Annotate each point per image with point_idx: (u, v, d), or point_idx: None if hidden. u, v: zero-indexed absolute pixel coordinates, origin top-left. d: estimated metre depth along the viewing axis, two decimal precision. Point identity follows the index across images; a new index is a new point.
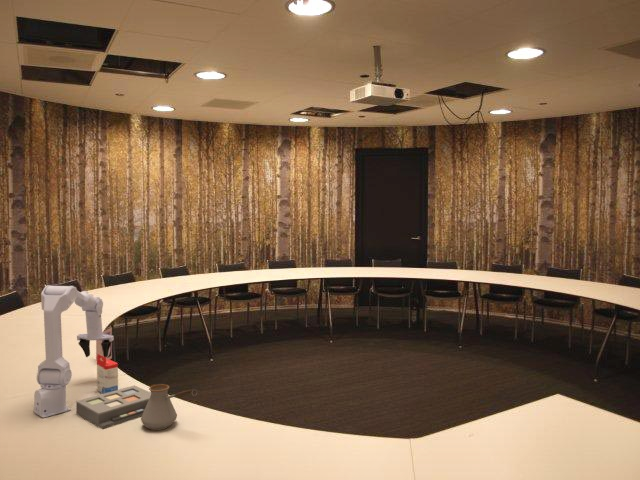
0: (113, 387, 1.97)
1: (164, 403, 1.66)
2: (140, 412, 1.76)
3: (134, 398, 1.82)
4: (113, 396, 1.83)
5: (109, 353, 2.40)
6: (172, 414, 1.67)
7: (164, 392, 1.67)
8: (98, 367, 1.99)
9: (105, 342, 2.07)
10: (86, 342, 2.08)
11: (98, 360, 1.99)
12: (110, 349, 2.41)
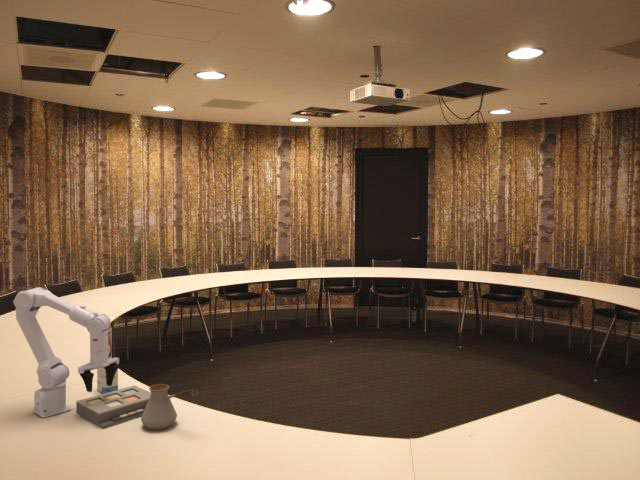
0: (113, 387, 1.97)
1: (164, 403, 1.66)
2: (140, 412, 1.76)
3: (134, 398, 1.82)
4: (113, 396, 1.83)
5: (109, 353, 2.40)
6: (172, 414, 1.67)
7: (164, 392, 1.67)
8: None
9: None
10: (108, 368, 1.81)
11: None
12: (110, 349, 2.41)
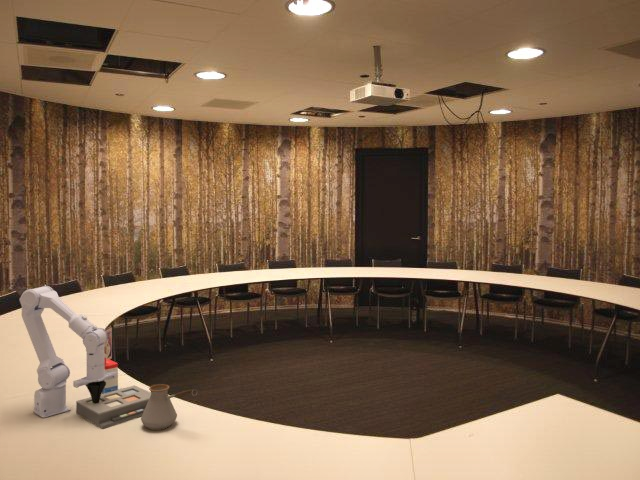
0: (113, 387, 1.97)
1: (164, 403, 1.66)
2: (140, 412, 1.76)
3: (134, 398, 1.82)
4: (113, 396, 1.83)
5: (109, 353, 2.40)
6: (172, 414, 1.67)
7: (164, 392, 1.67)
8: None
9: None
10: None
11: None
12: (110, 349, 2.41)
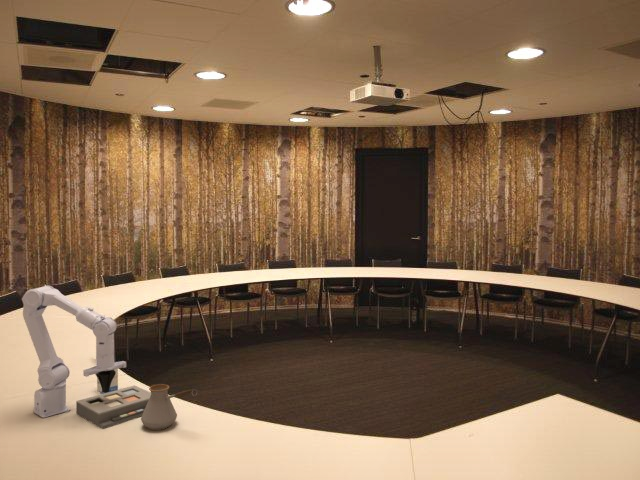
0: (113, 387, 1.97)
1: (164, 403, 1.66)
2: (140, 412, 1.76)
3: (134, 398, 1.82)
4: (113, 396, 1.83)
5: None
6: (172, 414, 1.67)
7: (164, 392, 1.67)
8: None
9: None
10: (105, 373, 1.78)
11: None
12: None
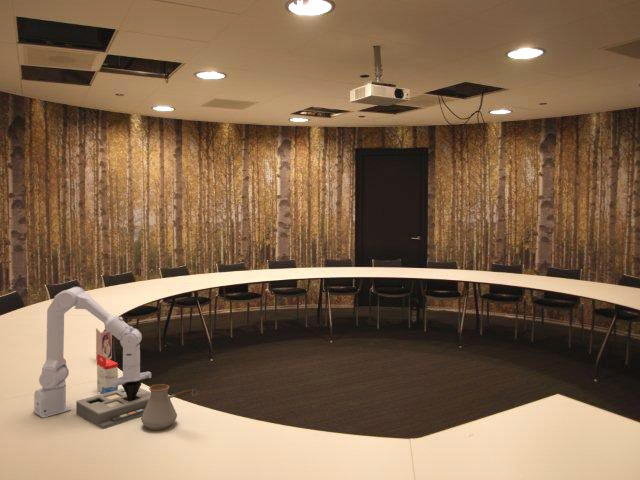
0: None
1: (164, 403, 1.66)
2: (140, 412, 1.76)
3: None
4: (113, 396, 1.83)
5: (109, 353, 2.40)
6: (172, 414, 1.67)
7: (164, 392, 1.67)
8: (98, 367, 1.99)
9: None
10: None
11: (98, 360, 1.99)
12: (110, 349, 2.41)
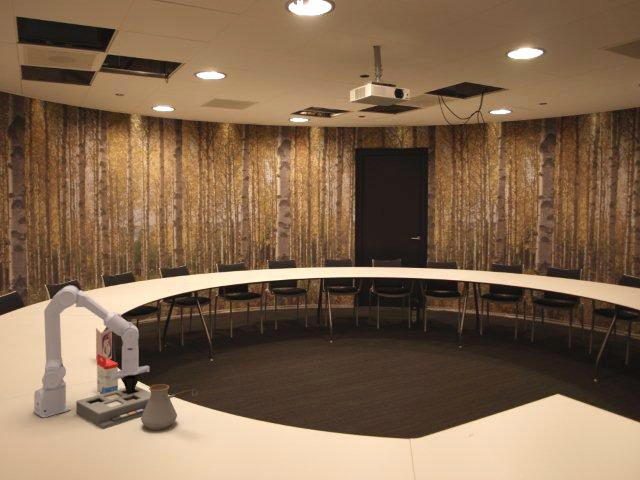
0: (113, 387, 1.97)
1: (164, 403, 1.66)
2: (140, 412, 1.76)
3: None
4: (113, 396, 1.83)
5: (109, 353, 2.40)
6: (172, 414, 1.67)
7: (164, 392, 1.67)
8: (98, 367, 1.99)
9: None
10: None
11: (98, 360, 1.99)
12: (110, 349, 2.41)
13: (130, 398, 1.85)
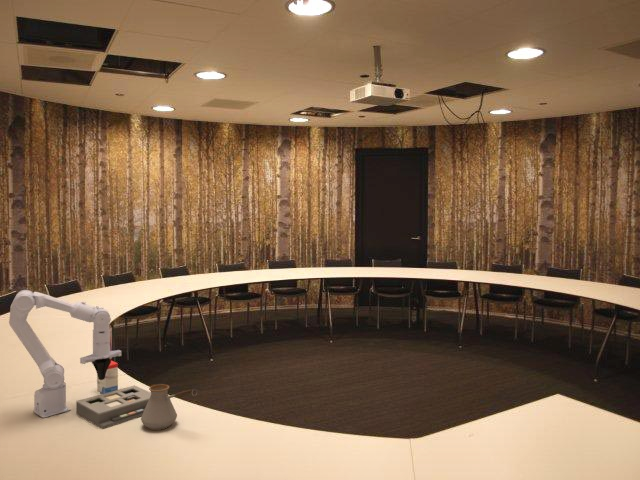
0: (113, 387, 1.97)
1: (164, 403, 1.66)
2: (140, 412, 1.76)
3: None
4: (113, 396, 1.83)
5: None
6: (172, 414, 1.67)
7: (164, 392, 1.67)
8: None
9: None
10: None
11: None
12: (110, 349, 2.41)
13: (130, 398, 1.85)
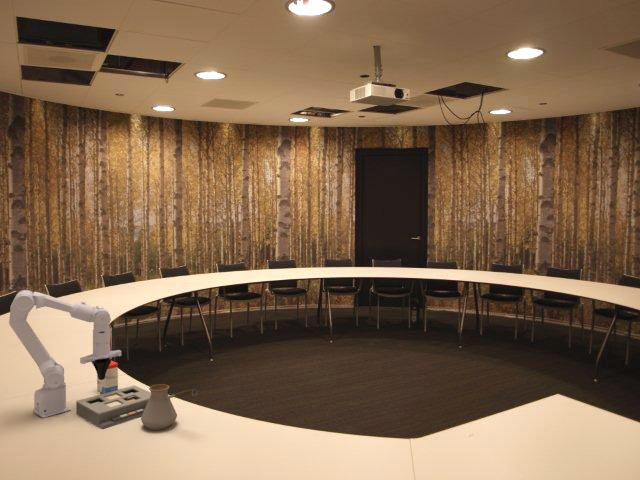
0: (113, 387, 1.97)
1: (164, 403, 1.66)
2: (140, 412, 1.76)
3: None
4: (113, 396, 1.83)
5: None
6: (172, 414, 1.67)
7: (164, 392, 1.67)
8: None
9: None
10: None
11: None
12: (110, 349, 2.41)
13: (130, 398, 1.85)
